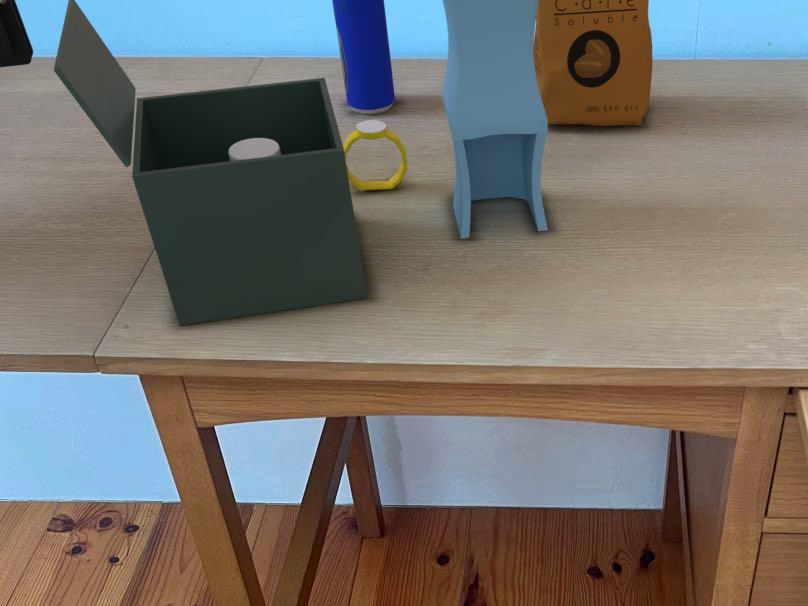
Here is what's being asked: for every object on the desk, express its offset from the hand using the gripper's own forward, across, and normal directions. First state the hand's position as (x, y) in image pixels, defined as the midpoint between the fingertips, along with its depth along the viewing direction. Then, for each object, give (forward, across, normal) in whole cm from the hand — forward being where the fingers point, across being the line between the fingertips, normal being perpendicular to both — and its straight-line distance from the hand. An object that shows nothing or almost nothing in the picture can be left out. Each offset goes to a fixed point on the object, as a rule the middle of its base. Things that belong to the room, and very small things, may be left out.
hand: (9, 61), depth 70 cm
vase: (+19, -4, +35) cm, 40 cm away
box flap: (+2, 0, +6) cm, 6 cm away
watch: (+19, -12, +25) cm, 34 cm away
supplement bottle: (+18, -1, +15) cm, 24 cm away
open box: (+19, 0, +14) cm, 23 cm away
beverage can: (+19, -31, +27) cm, 45 cm away
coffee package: (+19, -22, +49) cm, 57 cm away
